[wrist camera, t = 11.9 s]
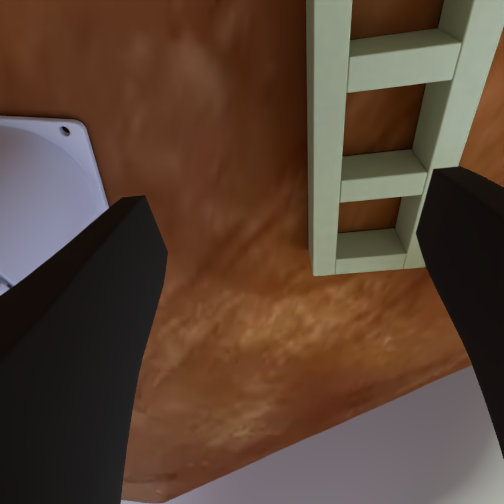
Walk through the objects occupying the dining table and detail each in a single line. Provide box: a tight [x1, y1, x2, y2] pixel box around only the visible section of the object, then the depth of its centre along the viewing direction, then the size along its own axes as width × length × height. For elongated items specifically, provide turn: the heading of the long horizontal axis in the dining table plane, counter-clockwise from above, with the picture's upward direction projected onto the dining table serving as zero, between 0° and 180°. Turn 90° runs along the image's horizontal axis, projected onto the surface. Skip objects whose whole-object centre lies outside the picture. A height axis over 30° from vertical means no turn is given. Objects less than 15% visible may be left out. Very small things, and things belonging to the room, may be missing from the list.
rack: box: [306, 0, 504, 276], centre depth 17 cm, size 7×18×2 cm, turn 7°
